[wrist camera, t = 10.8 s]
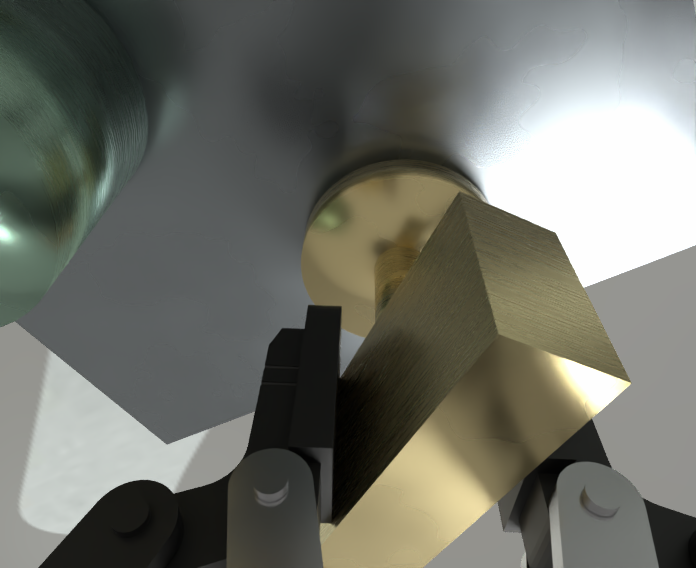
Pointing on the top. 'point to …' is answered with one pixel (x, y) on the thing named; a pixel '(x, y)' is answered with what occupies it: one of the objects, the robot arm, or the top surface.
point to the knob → (444, 356)
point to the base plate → (306, 161)
